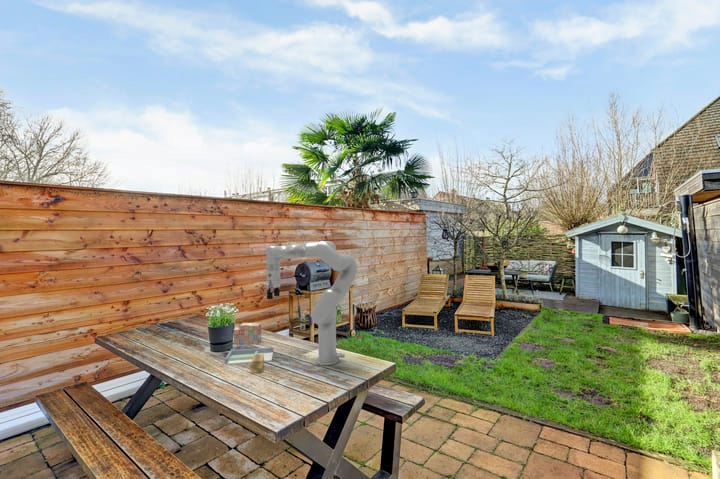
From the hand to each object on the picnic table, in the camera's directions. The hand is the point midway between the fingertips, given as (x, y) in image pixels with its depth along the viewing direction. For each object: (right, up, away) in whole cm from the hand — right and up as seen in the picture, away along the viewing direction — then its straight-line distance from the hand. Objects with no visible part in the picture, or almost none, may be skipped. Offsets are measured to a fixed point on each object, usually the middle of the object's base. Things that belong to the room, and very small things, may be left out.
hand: (273, 297), depth 192 cm
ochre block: (-3, -34, -18) cm, 39 cm away
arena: (-12, -34, -3) cm, 36 cm away
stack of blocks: (-26, -34, +26) cm, 50 cm away
